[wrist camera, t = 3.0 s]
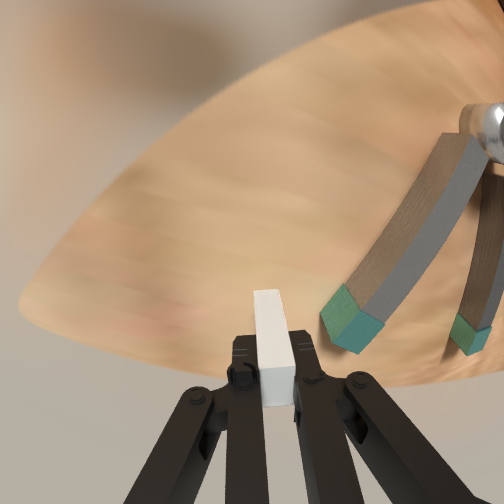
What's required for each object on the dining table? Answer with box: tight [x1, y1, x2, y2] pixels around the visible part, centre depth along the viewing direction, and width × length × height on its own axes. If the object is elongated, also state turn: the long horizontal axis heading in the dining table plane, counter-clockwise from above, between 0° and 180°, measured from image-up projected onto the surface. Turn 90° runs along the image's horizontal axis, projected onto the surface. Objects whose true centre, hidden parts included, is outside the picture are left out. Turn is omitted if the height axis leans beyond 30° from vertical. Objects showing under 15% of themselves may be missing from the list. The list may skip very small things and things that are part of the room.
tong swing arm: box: [320, 115, 504, 354], centre depth 16 cm, size 23×6×5 cm, turn 149°
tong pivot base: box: [449, 103, 504, 356], centre depth 17 cm, size 24×6×4 cm, turn 4°
